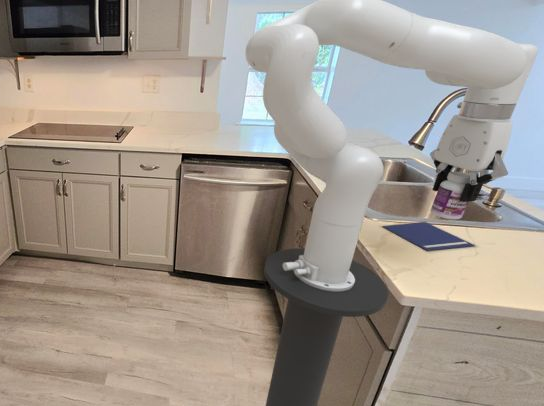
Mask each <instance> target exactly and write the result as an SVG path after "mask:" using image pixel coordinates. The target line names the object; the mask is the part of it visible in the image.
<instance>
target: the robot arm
mask: <svg viewBox="0 0 544 406" xmlns="http://www.w3.org/2000/svg"><path fill="white" fill-rule="evenodd" d="M320 46H335V47H338V48H339V47H340V48H343V49H345V50H347V51H351V52H352V53H356V54H359V55H362V56H364V57H366V58H370V59H372V60H375V61H377V62H379V63H381V64H386V65H388V66H393V67H397V68H404V69H411V70H412V69H413V70H421V71H422V70H423V71H424V73H425V75H426V77H427V78H428V80H430V81H431V82H433V83H434V84H438V85H442V86H451V87H452V86H453V87H461V88H462V87H463V88H467V89H466V91H465V94H464V98H463V100H462V101H460V102H458V104H457V105H456V106H457V107H456V108H457V109H459V111H458V114H455V115H453V116H452V117H451V119H450V120H449V122H448V123H447V125H446V127H445V129H444V131H443V132H442V134H441V137H440V139H439V141H438V144H437V146H436V148H435V149H434V150H432V151H431V152H430V153H429V156H430V158H431V160H432V161H433V164H434V166H435V173H436V174H437V175H436V178H435V179H434V180H435V181H434V183H433V187H432V191H434V192H438V189H439V186H440V184H441V183H442V182H443V181H446V180H448V179H447V177H448V174H449V172H453V171H454V169H455V168H459V169H462V170H466V171H469V174H470V183H466V184H465V187H464V189H463V192H462V194H461V197H460V201H462V202H468V203H470V202H475V201H477V198H479V195H480V193H481V190H482V188H483V186H484V185H487V184H488V183H490V182H493V181H495V180H497V179H501V178H504V177H506V176H508V174H509V171H508V170H507V167H506V165H505V162H504V158H505V155H506V153H507V149H508V147H509V146H508V145H509V143H510V139H511V135H512V129H513V121H512V120H511V118H512V116H513V113H514V111H515V109H516V106H517V103H518V101H519V99H520V97H521V95H522V92H523V90H524V87H525V84H526V82H527V80H528V77H529V75H530V73H531V70H532V68H533V65H534V63H535V60H536V58H537V55H538V52H539V50H538V46H536V45H535V44H533V43H532V44H531V43H517V42H516V41H513V40H511V39H508V38H506V37H503V36H501V35H499V34H496V33H493V32H490V31H488V30H483V29H480V28H476V27H471V26H467V25H462V24H457V23H452V22H449V21H445V20H440V19H436V18H431V17H427V16H424V15H423V16H422V15H420V14H418V13H414V12H412V11H409V10H407V9H405V8H402V7H400V6H397V5H395V4H392V3H390V2H388V1H385V0H316V1H314V2H311V3H310V4H307V5H306V6H304V7H302V8H300V9H298V10H296V11H294V12H292V13H290V14H288V15H286V16H284V17H281V18H280V19H278V20H275V21H274V22H273V21H272V22H271V23H269V24H267V25H265V26H263V27H261V28H260V29H258V30H257V31H255V32H254V33H253V34H252V35H251V36H250V38H249V40H248V42H247V44H246V45H245V60H246V63H247V64H248V66H249V67H251V68H252V69H253V70H254V71H257V72H260V73H264V74H265V76H264V80H263V86H262V88H263V89H262V101H263V106H264V109H265V110H266V112H267V113H268V115H269V117H271V118H272V120H273V121H274V124H273V133H274V137H275V139H276V141H277V143H278V144H279V145H280V146H281V147H282V148H283V150H285V151H286V153H287V154H288V155H289V156H290V157H292V159H293V160H294V161H295V162H296V163H297V164H298V165H299V166H300V167H301V168H302V169H303V170H305V171H306V172H307V173H308V174H310V175H311V176H313V177H315V178H317V179H318V180H320V181H322V182H323V183H325V187H324V189H323V190H322V192H321V193H320V194H319V195H318V197H317V198H316V200H315V201H314V205H313V209H312V215H311V219H310V222H309V223H310V224H309V227H308V232H307V233H308V234H307V237H306V243H305V246H304V249H305V251H304V255H300V256H299V259H298V260H296V261H295V262H287V263H283V269H284V270H285V271H289V270H293V271H294V274H295V275H296V276H297V277H298V278H299V279H300V280H301V281H303V282H304V283H306V284H308V285H310V286H312V287H315V288H318V289H321V290H326V291H333V292H340V291H346V290H349V289H351V288H352V287H353V286H354V283H355V278H354V276H353V274H352V273H351V272H350V271H349V269H350V266H351V262H352V260H353V259H354V255H355V251H356V247H357V244H358V241H359V237H360V233H361V230H362V226H363V223H364V219H365V217H366V212H367V210H368V207H369V204H370V201H371V199H372V196H373V195H374V193H375V191H376V189H377V188H378V186H379V184H380V182H381V181H382V178H383V175H384V168H385V167H384V164H383V161H382V159H381V158H380V156H379V155H378V154H376V153H375V152H374V151H373V150H371V149H369V148H367V147H364V146H362V145H359V144H356V143H353V142H350V141H348V133H347V128H346V126H345V124H344V122H343V121H342V120H341V119H340V117H338V116H337V114H336V113H335V112H334V111H333V110H332V109H331V108H330V106H328V104H327V103H326V102H325V100H323V98H321V96H320V95H319V94H318V92H317V91H316V89H315V87H314V86H313V81H312V79H313V78H312V77H313V72H314V69H315V65H316V62H317V59H318V56H319V51H320ZM489 171H491V172H489Z"/></svg>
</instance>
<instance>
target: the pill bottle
mask: <svg viewBox="0 0 544 406" xmlns="http://www.w3.org/2000/svg"><path fill="white" fill-rule="evenodd" d="M447 179H448V180H446V181H443V182H442V183H441V184H440V186H439V189H438V191H436V195H435V197H434V200H433V202H432V205H431V209H430V212H431V214H432V215H434V216H436V217H439V218H442V219H446V220H461V218H462V217H463V216H464V213H465V211H466V208H467V206H468V204H469V202H462V201H460V197H461V194H462V192H463V189H464V187H465V184H466V183H470V173H467V172H463V171H452V172H449V174H448V177H447Z"/></svg>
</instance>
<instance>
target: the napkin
mask: <svg viewBox="0 0 544 406" xmlns="http://www.w3.org/2000/svg"><path fill="white" fill-rule="evenodd" d="M382 228H383V229H385V230H387V231H388V232H390V233H393V234H395V235H397V236H399V237H400V238H402V239H403V240H406V241H408V242H409V243H412V244H413V245H415V246H416V247H418V248H421V249H422V250H424V251H426V252H432V251H433V252H434V251H440V250H441V251H442V250H451V249H461V248H471V247H476V245H475V244H473V243H472V242H469V241H466V240H464V239H462V238H460V237H458V236H456V235H454V234H452V233H450V232H448V231H445V230H443V229H441V228H439V227H437V226H434V225H432V224H430V223H428V222H427V221H423V222H422V221H421V222H413V223H412V222H411V223H400V224H390V225H383V226H382Z"/></svg>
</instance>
